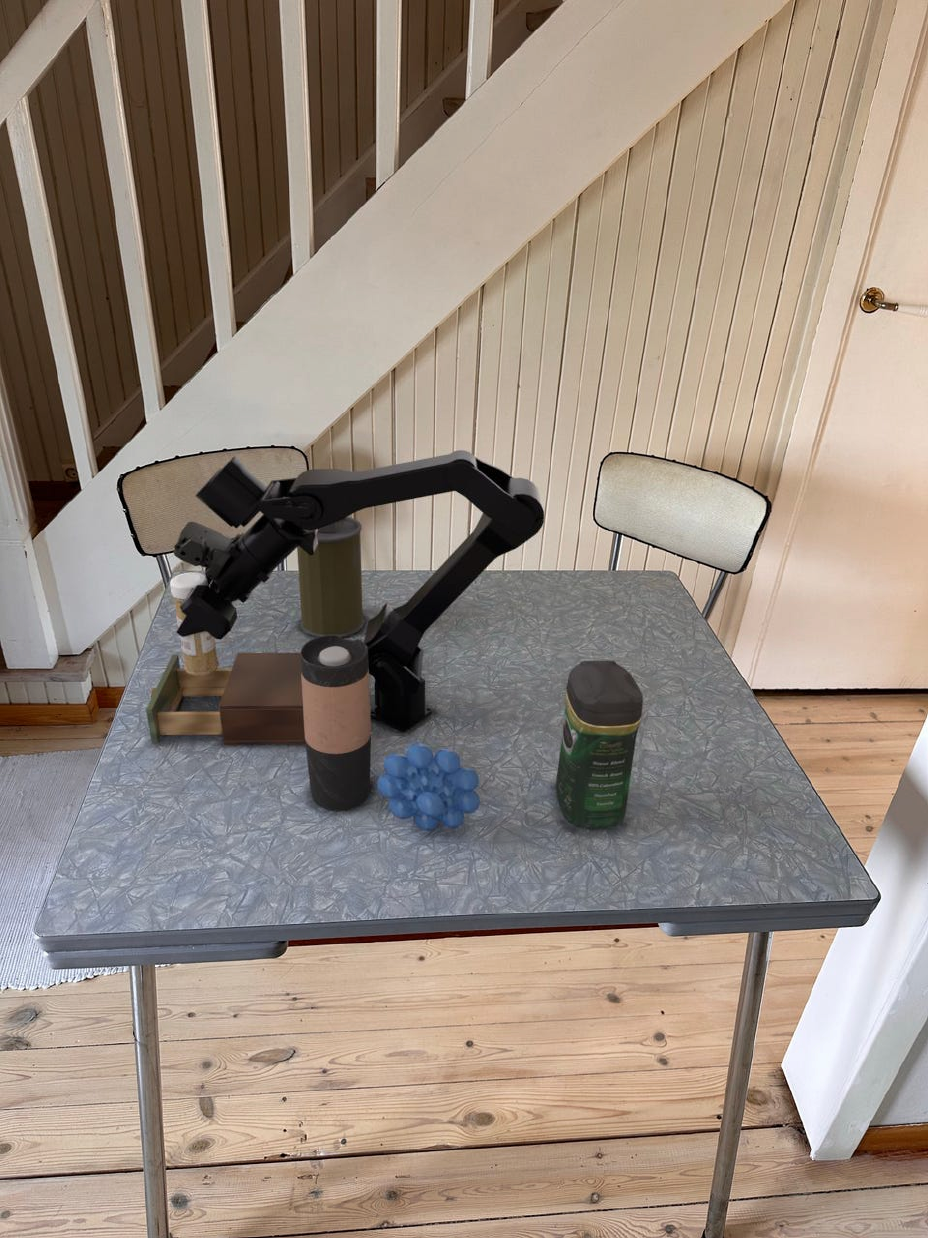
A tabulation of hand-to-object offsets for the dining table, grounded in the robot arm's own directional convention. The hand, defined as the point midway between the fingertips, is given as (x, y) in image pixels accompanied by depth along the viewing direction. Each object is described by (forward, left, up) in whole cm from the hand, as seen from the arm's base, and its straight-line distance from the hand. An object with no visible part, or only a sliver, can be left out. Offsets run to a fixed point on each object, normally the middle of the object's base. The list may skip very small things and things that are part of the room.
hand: (185, 625), depth 110 cm
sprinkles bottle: (-1, -1, -7) cm, 7 cm away
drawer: (-2, 0, -13) cm, 13 cm away
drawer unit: (-10, -6, -13) cm, 18 cm away
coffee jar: (-53, -17, -13) cm, 57 cm away
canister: (+3, -30, -13) cm, 33 cm away
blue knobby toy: (-41, -1, -13) cm, 43 cm away
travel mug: (-28, 0, -13) cm, 31 cm away
